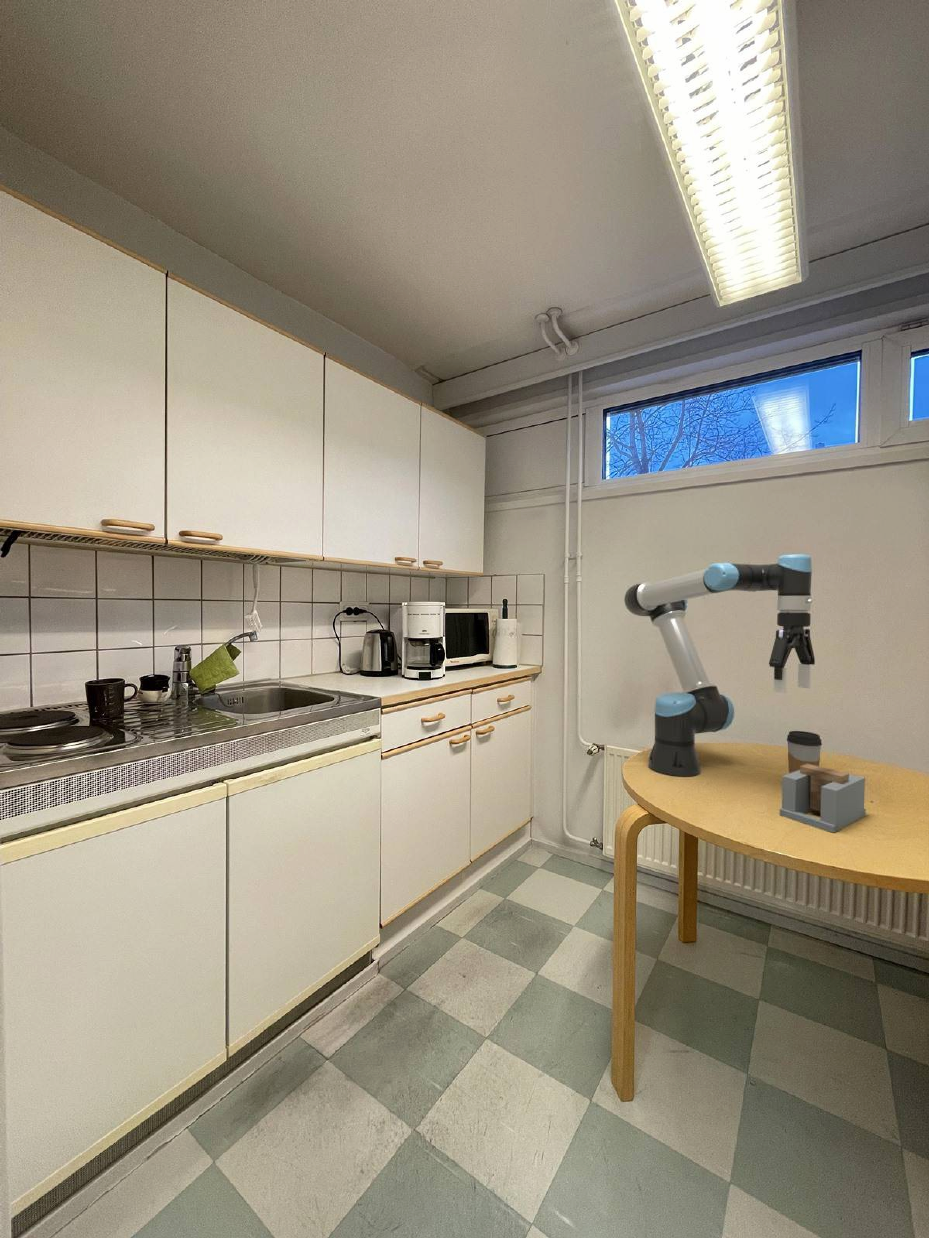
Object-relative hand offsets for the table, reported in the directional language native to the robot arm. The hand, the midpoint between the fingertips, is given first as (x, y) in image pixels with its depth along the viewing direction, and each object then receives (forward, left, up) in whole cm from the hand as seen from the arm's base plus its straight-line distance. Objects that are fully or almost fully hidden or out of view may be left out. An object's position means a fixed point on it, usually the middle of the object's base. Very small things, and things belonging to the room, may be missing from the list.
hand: (792, 689), depth 135 cm
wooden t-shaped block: (+11, -8, -27) cm, 30 cm away
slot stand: (+11, -8, -29) cm, 32 cm away
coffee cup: (-1, +10, -29) cm, 31 cm away
